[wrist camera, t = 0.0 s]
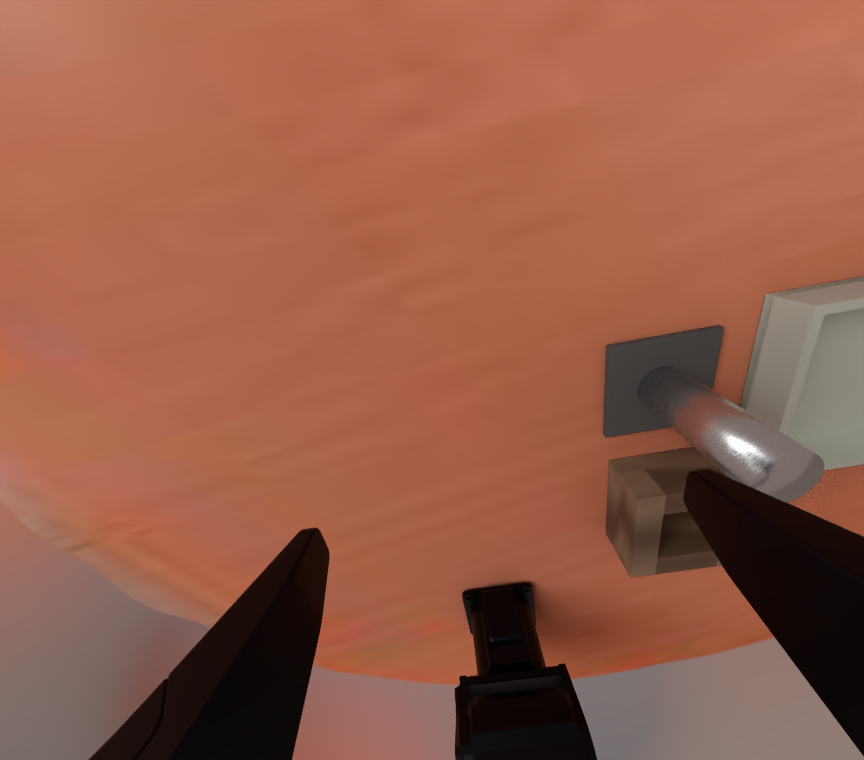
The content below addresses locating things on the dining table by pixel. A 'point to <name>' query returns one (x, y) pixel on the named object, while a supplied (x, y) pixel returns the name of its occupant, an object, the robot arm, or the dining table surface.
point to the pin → (731, 435)
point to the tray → (812, 369)
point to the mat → (639, 357)
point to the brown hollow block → (656, 513)
